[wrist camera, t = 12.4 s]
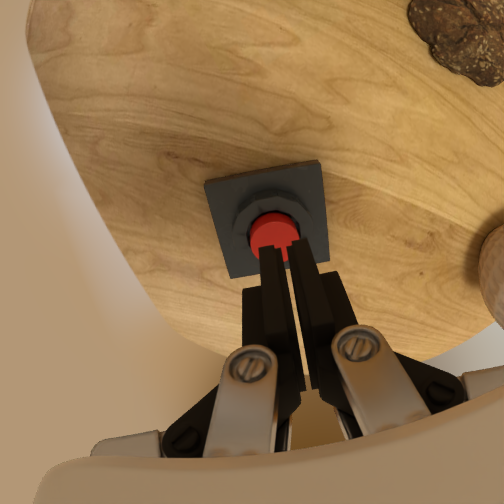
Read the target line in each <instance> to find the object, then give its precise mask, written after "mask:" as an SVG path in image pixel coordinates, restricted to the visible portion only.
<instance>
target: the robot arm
mask: <svg viewBox="0 0 504 504" xmlns="http://www.w3.org/2000/svg"><path fill="white" fill-rule="evenodd" d="M291 243H292V245H290V246H286V249H287V255H288V260H289V266H290V272H291V277H292V283H293V289H294V294H295V300H296V306H297V312H298V317H299V322H300V327H301V332H302V338H303V343H304V348H305V354H306V359H307V365H308V370H309V376H310V381H311V387H312V390H313V389H319V394H320V397H321V398H322V400H323V401H325V402H327V403H329V404H331V405H332V406H333V407H334V412H335V414H336V416H337V419H338V421H339V424H340V426H341V429H342V431H343V434H344V437H345V439H346V441H342V442H337V443H332V444H327V445H322V446H316V447H311V448H305V449H298V450H292V451H290V444H291V430H292V413H293V412H294V411H295V410H296V409H297V408H298V407H299V405H300V404H301V396H300V392H302V391H306V385H305V378H304V372H303V366H302V360H301V354H300V349H299V343H298V337H297V331H296V326H295V320H294V314H293V309H292V303H291V298H290V292H289V287H288V282H287V276H286V271H285V266H284V261H283V255H282V250H281V247H280V248H275V247H274V244H273V245H268V246H263V247H258V251H259V264H260V277H261V286H256V287H250V288H245V289H243V290H242V347H241V348H238V349H237V350H235V351H234V352H232V353H231V354H230V355H229V356H228V358H227V359H226V361H225V364H224V366H223V370H222V374H221V379H220V383H219V384H218V385H217V386H216V387H215V388H214V389H213V390H211V391H210V392H209V393H208V394H207V395H206V396H205V397H203V398H202V399H201V400H200V401H199V402H198V403H197V404H195V405H194V406H193V407H192V408H191V409H190V410H188V411H187V412H186V413H185V414H184V415H182V416H181V417H180V418H179V419H178V420H176V421H175V422H174V423H173V424H172V425H171V426H170V427H169V428H168V429H167V430H166V431H163V432H159V431H158V430H153V431H149V432H144V433H138V434H133V435H128V436H122V437H116V438H109V439H105V440H102V441H99V442H98V443H97V444H96V445H95V446H94V447H93V449H92V450H91V454H90V456H89V457H82V458H77V459H73V460H70V461H66V462H63V463H61V464H58V465H56V466H54V467H53V468H51V469H50V470H49V471H48V472H47V473H46V474H45V476H44V477H43V479H42V481H41V482H40V485H39V487H38V490H37V493H36V495H35V498H34V502H33V504H504V365H503V366H498V367H493V368H488V369H482V370H477V371H471V372H465V373H463V374H462V376H459V377H455V376H454V375H452V374H450V373H448V372H445V371H443V370H440V369H437V368H435V367H432V366H430V365H427V364H424V363H422V362H419V361H417V360H414V359H412V358H409V357H406V356H404V355H401V354H399V353H396V352H394V351H393V350H392V349H391V347H390V346H389V344H388V343H387V341H386V339H385V338H384V336H383V335H382V334H381V333H380V332H379V331H378V330H377V329H375V328H373V327H371V326H367V325H358V322H357V319H356V317H355V314H354V311H353V309H352V306H351V304H350V301H349V299H348V296H347V294H346V291H345V289H344V286H343V284H342V281H341V279H340V276H339V274H338V272H337V271H333V272H328V273H323V274H319V271H318V268H317V265H316V263H315V260H314V257H313V254H312V251H311V248H310V245H309V242H308V239H307V238H304V239H299V240H294V241H291Z"/></svg>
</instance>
